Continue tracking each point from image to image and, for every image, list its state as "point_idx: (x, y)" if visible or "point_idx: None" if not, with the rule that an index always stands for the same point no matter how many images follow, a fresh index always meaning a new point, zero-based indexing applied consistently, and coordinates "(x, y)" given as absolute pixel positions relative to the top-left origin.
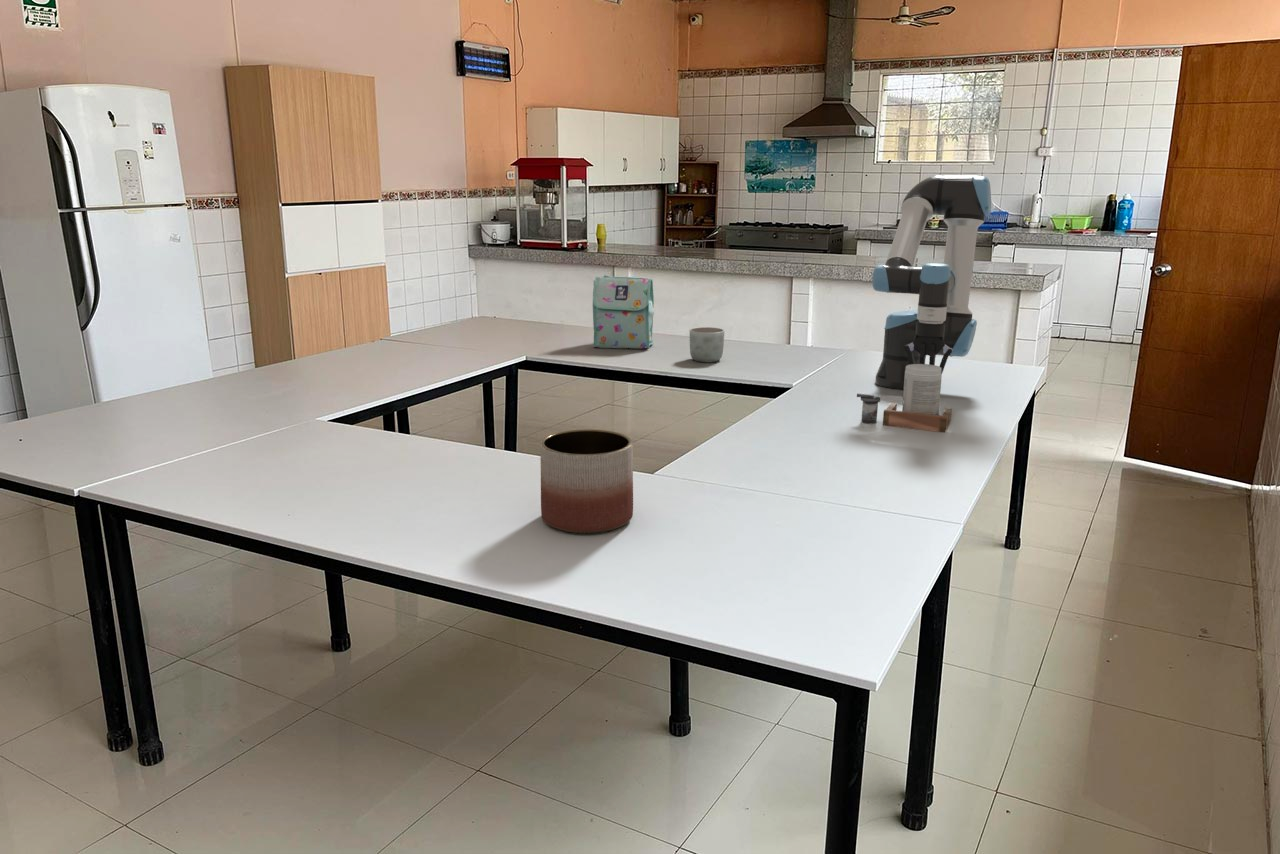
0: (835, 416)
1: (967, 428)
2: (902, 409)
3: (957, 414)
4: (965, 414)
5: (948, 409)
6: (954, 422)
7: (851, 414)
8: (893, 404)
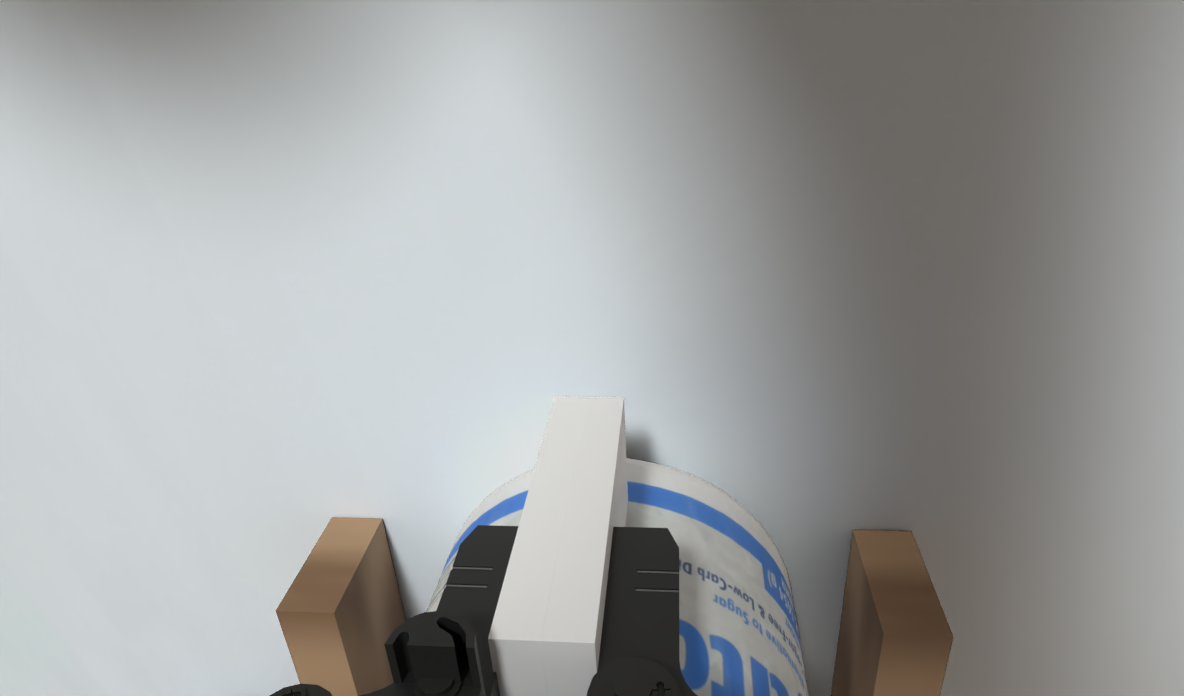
0: (21, 690)
1: (1061, 677)
2: None
3: (1012, 210)
4: (1128, 161)
5: (912, 667)
6: (951, 546)
7: (70, 611)
8: (327, 668)
